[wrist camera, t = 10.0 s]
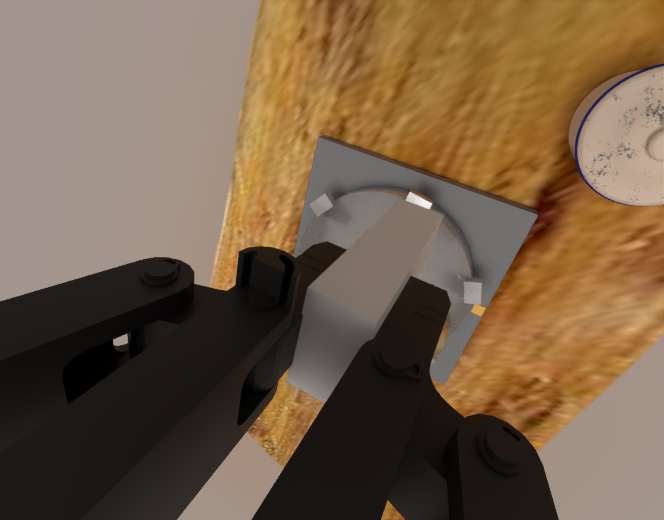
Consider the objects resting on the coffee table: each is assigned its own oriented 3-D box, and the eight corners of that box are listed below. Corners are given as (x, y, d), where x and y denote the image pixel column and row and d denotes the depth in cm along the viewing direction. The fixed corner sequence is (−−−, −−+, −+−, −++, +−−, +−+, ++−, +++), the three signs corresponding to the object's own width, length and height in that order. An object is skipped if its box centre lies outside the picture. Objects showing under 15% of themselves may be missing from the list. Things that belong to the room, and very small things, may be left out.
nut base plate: (323, 135, 44) (317, 137, 42) (537, 210, 37) (538, 215, 36) (289, 299, 56) (283, 304, 55) (446, 376, 50) (444, 385, 48)
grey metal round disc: (287, 291, 53) (253, 321, 47) (345, 143, 41) (311, 154, 35) (416, 375, 49) (399, 420, 43) (522, 237, 37) (521, 270, 31)
